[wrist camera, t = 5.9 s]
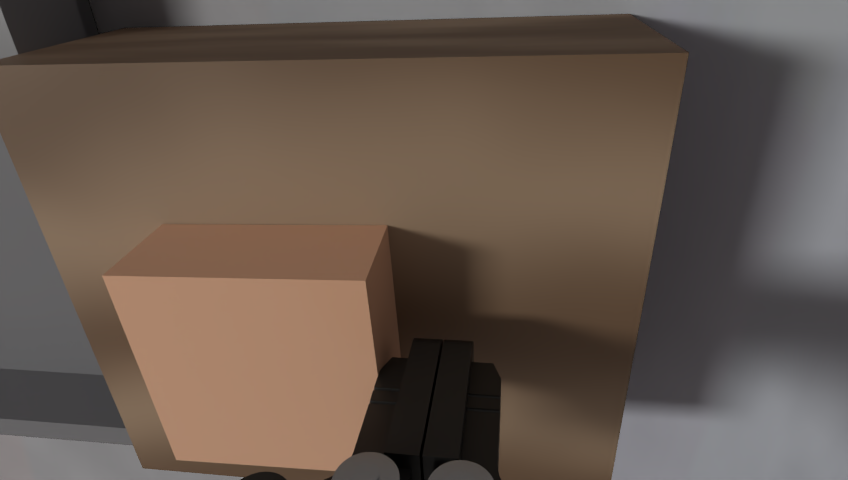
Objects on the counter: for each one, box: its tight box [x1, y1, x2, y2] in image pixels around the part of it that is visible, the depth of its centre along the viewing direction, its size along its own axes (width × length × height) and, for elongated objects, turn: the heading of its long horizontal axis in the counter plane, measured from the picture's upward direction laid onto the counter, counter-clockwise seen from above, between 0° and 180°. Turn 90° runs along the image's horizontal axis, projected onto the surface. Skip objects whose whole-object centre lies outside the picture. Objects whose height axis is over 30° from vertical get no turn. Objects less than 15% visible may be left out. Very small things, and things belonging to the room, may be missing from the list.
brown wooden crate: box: [0, 14, 689, 480], centre depth 18 cm, size 14×16×6 cm
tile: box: [102, 224, 401, 471], centre depth 14 cm, size 6×6×2 cm
